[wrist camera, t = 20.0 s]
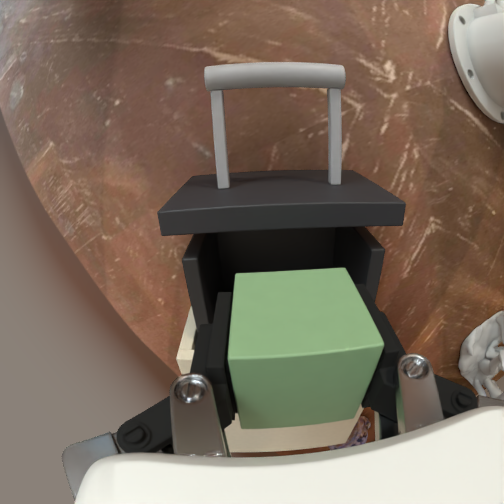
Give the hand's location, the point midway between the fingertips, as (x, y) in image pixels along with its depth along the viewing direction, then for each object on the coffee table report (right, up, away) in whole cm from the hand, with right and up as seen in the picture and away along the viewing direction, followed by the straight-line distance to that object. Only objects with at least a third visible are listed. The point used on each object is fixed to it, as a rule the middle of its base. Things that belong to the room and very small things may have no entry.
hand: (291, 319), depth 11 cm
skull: (+14, -26, +26) cm, 39 cm away
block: (0, 0, +1) cm, 1 cm away
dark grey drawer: (0, +5, +9) cm, 10 cm away
